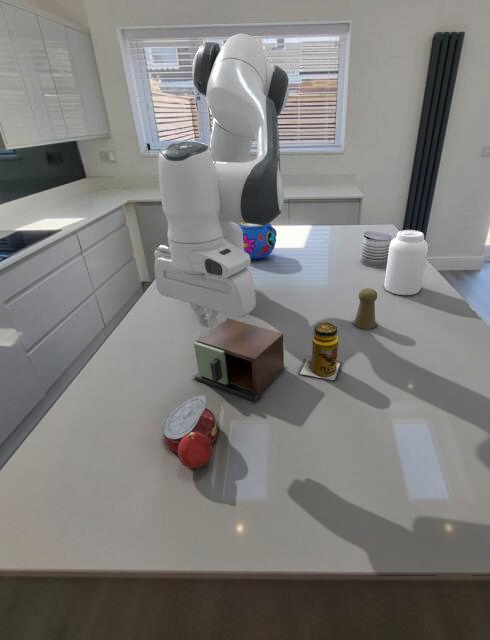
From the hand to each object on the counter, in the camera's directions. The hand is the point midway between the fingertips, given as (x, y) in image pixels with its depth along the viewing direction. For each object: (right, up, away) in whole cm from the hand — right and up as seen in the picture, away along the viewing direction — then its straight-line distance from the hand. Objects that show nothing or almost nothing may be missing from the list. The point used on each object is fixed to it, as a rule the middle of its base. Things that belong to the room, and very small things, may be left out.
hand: (207, 324), depth 69 cm
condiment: (+23, -10, +22) cm, 33 cm away
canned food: (-4, -22, +4) cm, 22 cm away
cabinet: (+4, -11, +21) cm, 24 cm away
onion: (-1, -25, -3) cm, 26 cm away
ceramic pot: (+1, +34, +94) cm, 100 cm away
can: (+51, +30, +86) cm, 105 cm away
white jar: (+56, +15, +63) cm, 85 cm away
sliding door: (-3, -12, +16) cm, 20 cm away
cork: (+38, +2, +41) cm, 56 cm away
